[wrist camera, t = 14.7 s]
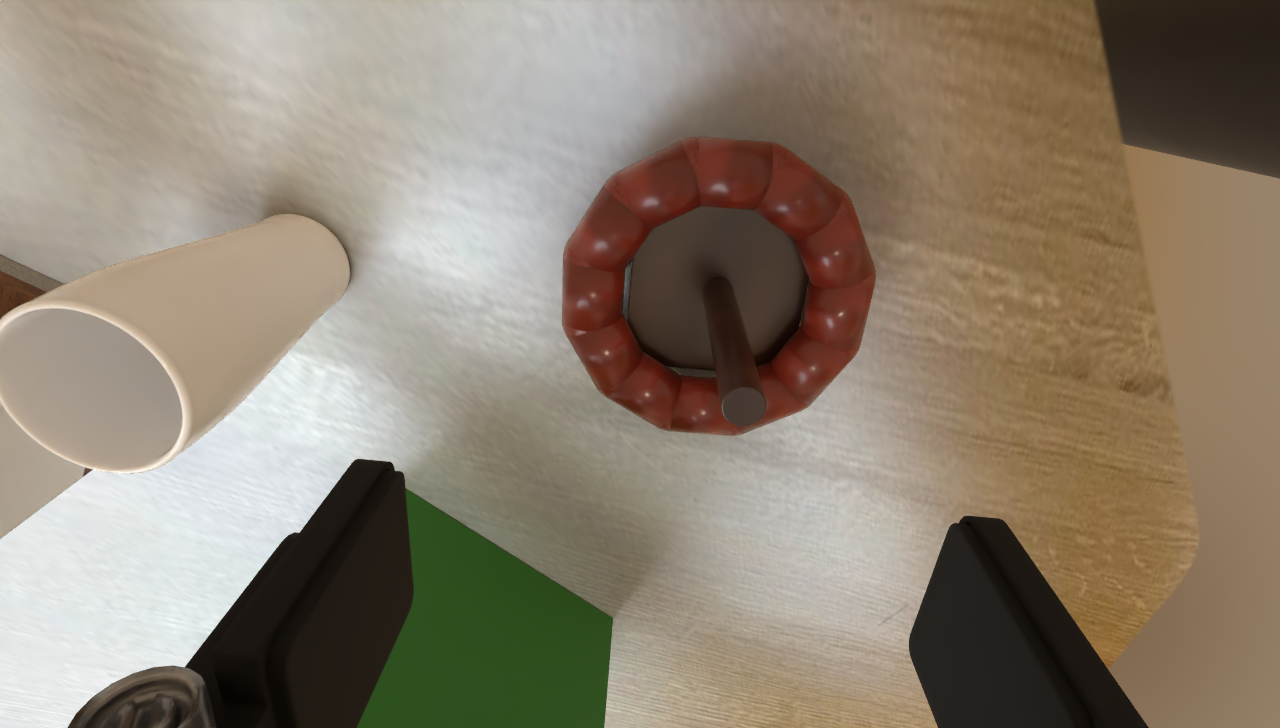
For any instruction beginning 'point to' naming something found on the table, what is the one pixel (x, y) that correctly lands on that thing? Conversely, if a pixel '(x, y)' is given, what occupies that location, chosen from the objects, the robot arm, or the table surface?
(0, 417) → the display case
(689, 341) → the peg stand
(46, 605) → the table surface
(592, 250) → the ring
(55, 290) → the drinking glass
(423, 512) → the hardback book
